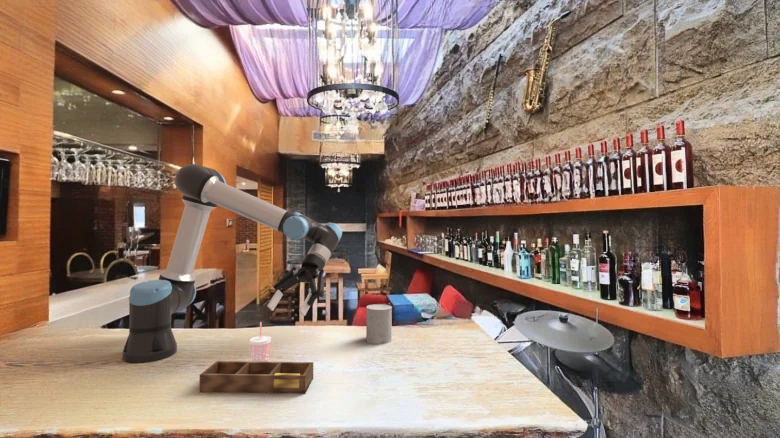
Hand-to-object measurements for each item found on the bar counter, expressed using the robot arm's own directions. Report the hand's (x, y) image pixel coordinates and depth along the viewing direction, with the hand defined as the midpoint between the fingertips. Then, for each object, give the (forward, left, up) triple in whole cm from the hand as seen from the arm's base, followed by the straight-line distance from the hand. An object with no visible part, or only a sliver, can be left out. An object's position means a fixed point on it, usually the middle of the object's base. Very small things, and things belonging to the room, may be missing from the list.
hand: (285, 311), depth 123 cm
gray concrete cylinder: (+29, +20, -15) cm, 39 cm away
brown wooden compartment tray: (-1, -20, -15) cm, 25 cm away
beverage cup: (-5, -9, -15) cm, 18 cm away
